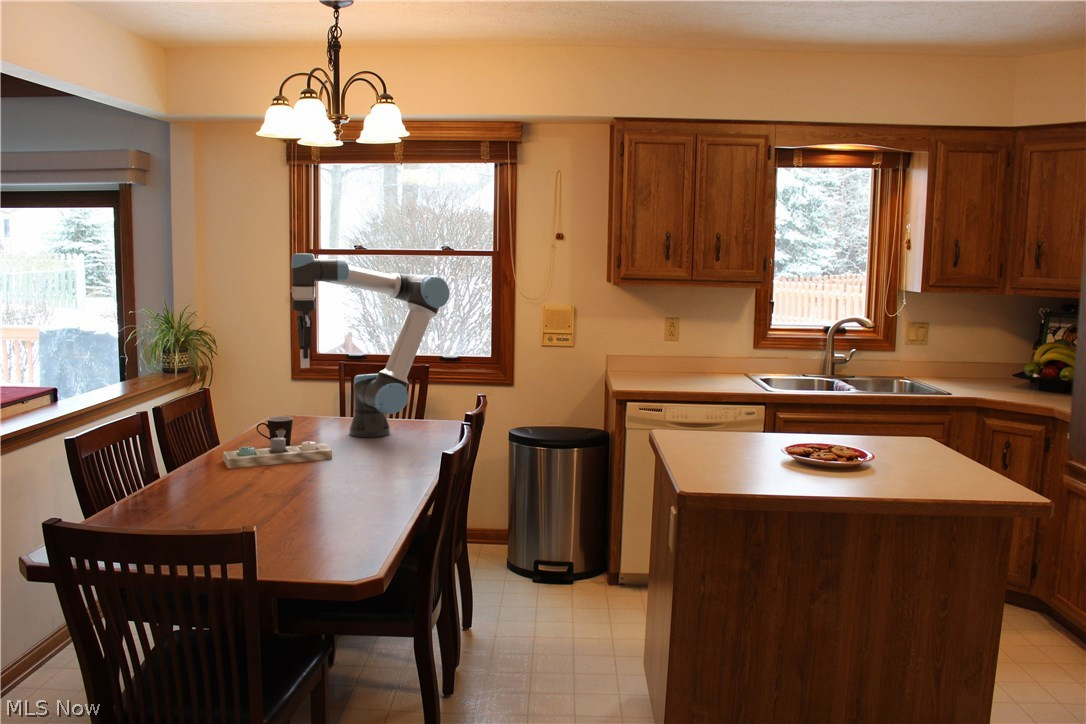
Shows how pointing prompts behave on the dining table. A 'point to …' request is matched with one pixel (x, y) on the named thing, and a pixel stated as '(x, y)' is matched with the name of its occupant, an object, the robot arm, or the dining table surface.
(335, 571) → the dining table surface
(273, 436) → the coffee mug
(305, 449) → the button
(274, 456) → the wooden compartment tray
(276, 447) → the gray dotted rounded cylinder
